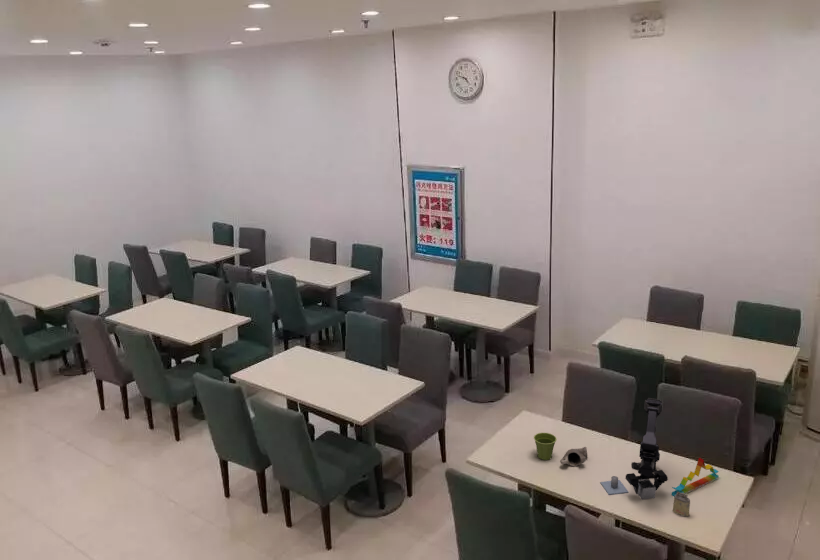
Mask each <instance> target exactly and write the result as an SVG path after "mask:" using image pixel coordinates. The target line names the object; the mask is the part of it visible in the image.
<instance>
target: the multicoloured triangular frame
mask: <svg viewBox="0 0 820 560" xmlns="http://www.w3.org/2000/svg"><path fill="white" fill-rule="evenodd" d="M705 463H706V462H705V460H704V459H703V458H701V457H698V459H697V463H696V466H695V468H694V472H693V471H690V472H689V473H688V475H687V477H685V476H683V477H682V478H681V481H680V482H679V484H678V486H676V487H673V486H671V487H672V488H671V489H674V490H673V491H672V492H671V496H672V497H674V496H675V495H676V493H677V492H680V493H684V494H686V495H687V494H689V493H691V492H693V491H696V490H698V489H699V488H701V487H703V486H705V485H708V484H710V483H712V482H714V481H717V480H718V479H719V478H720V477H719V475H718V474H717V473H719V472H720V471H719V470H717V469H716V468H714V467H713V465H711V464H709V463H708V464H705ZM702 469H704V470H705V471H707V470H708V471H710V474H708V475H706V476H704V477H702V478H699V479H697V480H695V481H693V479H694V478H695V476H697V477H700V474H701V470H702ZM688 481H690V483H689V484H687V483H688ZM692 481H693V482H692Z"/></svg>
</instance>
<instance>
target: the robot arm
mask: <svg viewBox="0 0 820 560" xmlns="http://www.w3.org/2000/svg"><path fill="white" fill-rule="evenodd" d="M663 408H664V402H663V401H662V400H661V399H658V398H651V397H648V398H647V399H645V400H644V408H643V410H644V411H645V412H646V415H647V418H646V419H647V420H646V430H645V434H644V435H643V437H642V441H640V447H639V454H638V455H639V457H640V462H635V461H632V462H631V469H632V470H635V471H637V474H640V475H636V474H635V472H632V473H626V474H625V478H624V479H625V480H626V481H627V482H628V484H629V485H630V486H632V488H633V490H634V493H635V495H638V494H637V493H638V488H639V484H638V483H639V480H648V479H649V480H653V484H654V486H655V487H656V491H657V490H659V488H660V487H661V486H662V485H663V484H664V483H665V482H668V480H669V479H668V475H667V474H666V472H664V471H663V469H659V470H658V469H657V463H658V462H659V461H660V456H661V454H660V446H659V444H658V443H657V442H658V440H657V437H656V433H657V432H656V430H657V420H658V417H659V416H660V414H661V413H662V412H663Z"/></svg>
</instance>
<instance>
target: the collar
mask: <svg viewBox="0 0 820 560" xmlns="http://www.w3.org/2000/svg"><path fill="white" fill-rule="evenodd" d="M638 484H639V488H638V493H637V494H636V495H638V497H639V498H640V499H641V500H650V499H655V498H656V492H657V490H656V487H655V486H654V482H652V481H651V479H648V480H639V483H638Z"/></svg>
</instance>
